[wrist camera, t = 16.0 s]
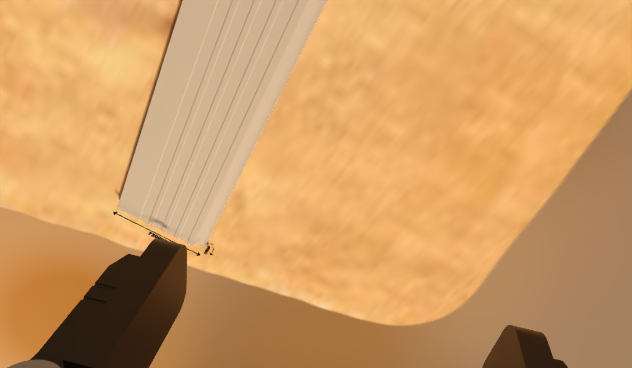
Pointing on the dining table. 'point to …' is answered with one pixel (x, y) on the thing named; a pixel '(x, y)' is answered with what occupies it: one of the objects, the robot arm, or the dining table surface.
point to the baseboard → (212, 109)
